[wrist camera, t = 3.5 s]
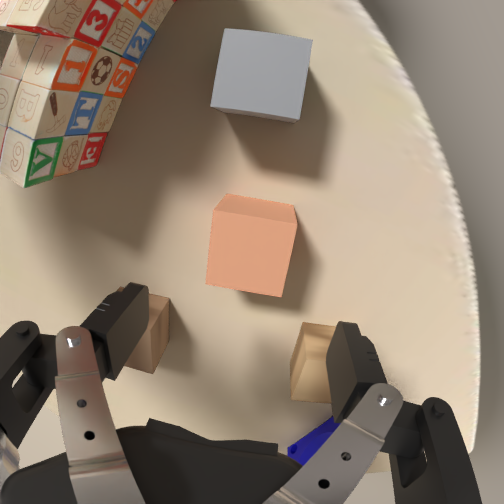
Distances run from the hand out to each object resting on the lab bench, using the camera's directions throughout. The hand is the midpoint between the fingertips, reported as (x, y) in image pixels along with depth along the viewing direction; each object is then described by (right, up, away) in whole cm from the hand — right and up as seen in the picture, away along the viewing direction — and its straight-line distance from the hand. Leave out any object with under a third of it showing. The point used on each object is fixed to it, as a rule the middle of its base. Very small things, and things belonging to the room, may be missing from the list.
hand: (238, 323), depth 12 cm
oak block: (+7, -6, +15) cm, 17 cm away
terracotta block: (+1, +5, +11) cm, 12 cm away
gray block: (+1, +15, +7) cm, 16 cm away
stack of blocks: (-10, +20, +6) cm, 23 cm away
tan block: (-10, -3, +15) cm, 18 cm away
